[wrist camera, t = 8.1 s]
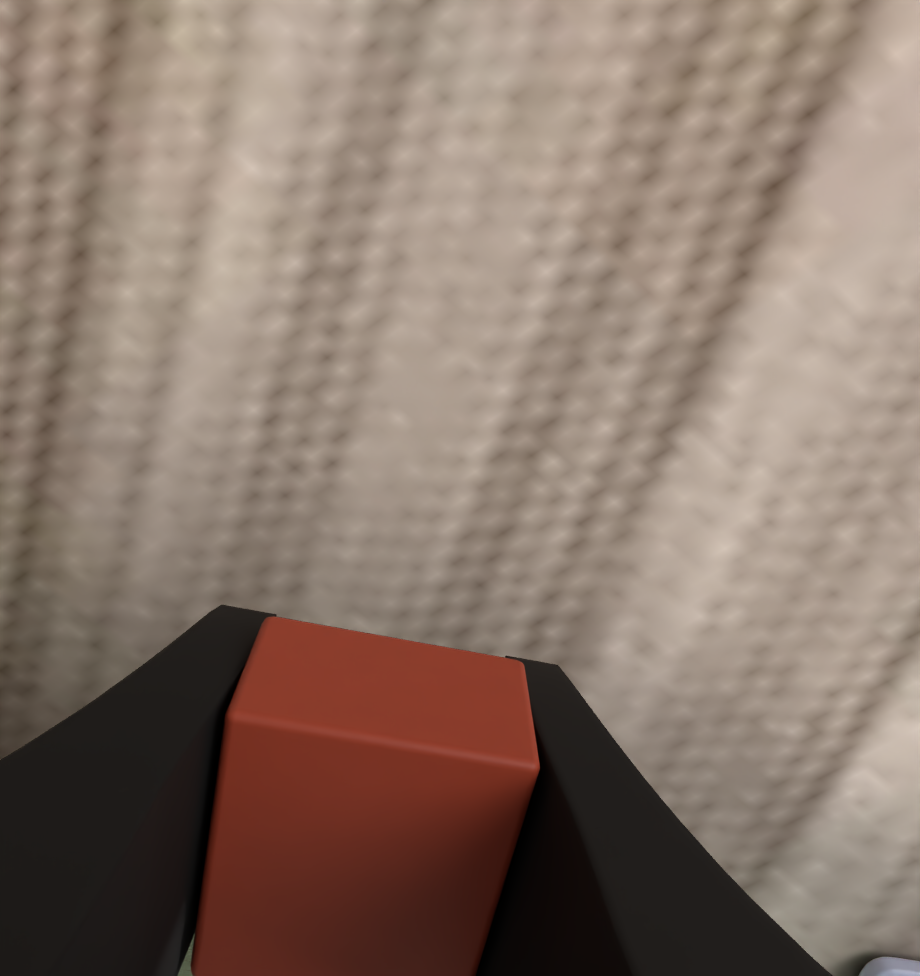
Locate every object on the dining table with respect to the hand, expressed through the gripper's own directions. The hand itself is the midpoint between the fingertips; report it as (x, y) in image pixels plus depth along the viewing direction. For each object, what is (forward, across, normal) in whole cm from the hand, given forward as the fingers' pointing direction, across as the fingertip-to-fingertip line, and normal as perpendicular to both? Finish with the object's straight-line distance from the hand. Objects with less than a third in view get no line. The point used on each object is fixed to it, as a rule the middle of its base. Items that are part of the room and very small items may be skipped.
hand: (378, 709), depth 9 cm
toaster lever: (-1, 0, +2) cm, 2 cm away
